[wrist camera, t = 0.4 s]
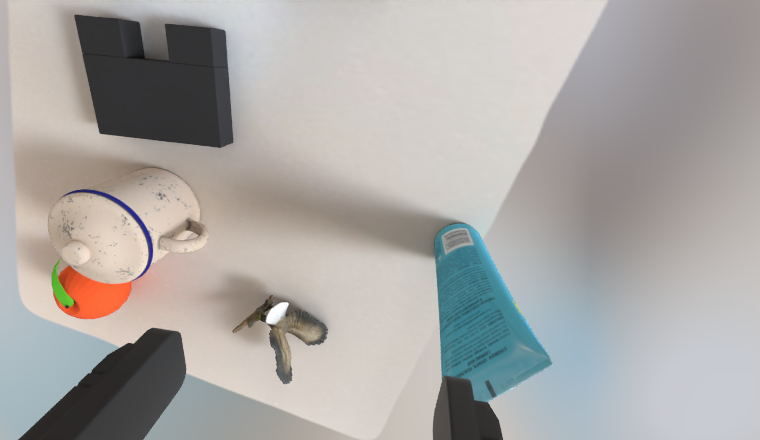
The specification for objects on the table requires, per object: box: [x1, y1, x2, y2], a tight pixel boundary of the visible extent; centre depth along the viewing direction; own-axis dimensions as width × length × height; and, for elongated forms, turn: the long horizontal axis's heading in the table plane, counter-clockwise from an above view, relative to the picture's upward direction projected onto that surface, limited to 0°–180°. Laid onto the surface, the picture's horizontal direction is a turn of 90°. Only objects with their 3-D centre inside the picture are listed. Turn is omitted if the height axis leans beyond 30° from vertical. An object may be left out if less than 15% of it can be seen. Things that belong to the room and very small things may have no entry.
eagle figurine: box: [232, 295, 328, 384], centre depth 41 cm, size 8×7×9 cm
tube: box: [434, 223, 553, 402], centre depth 29 cm, size 7×5×19 cm, turn 140°
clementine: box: [52, 259, 131, 319], centre depth 40 cm, size 8×7×7 cm
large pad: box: [74, 15, 233, 148], centre depth 33 cm, size 10×12×2 cm
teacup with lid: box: [48, 168, 208, 284], centre depth 34 cm, size 12×9×12 cm
